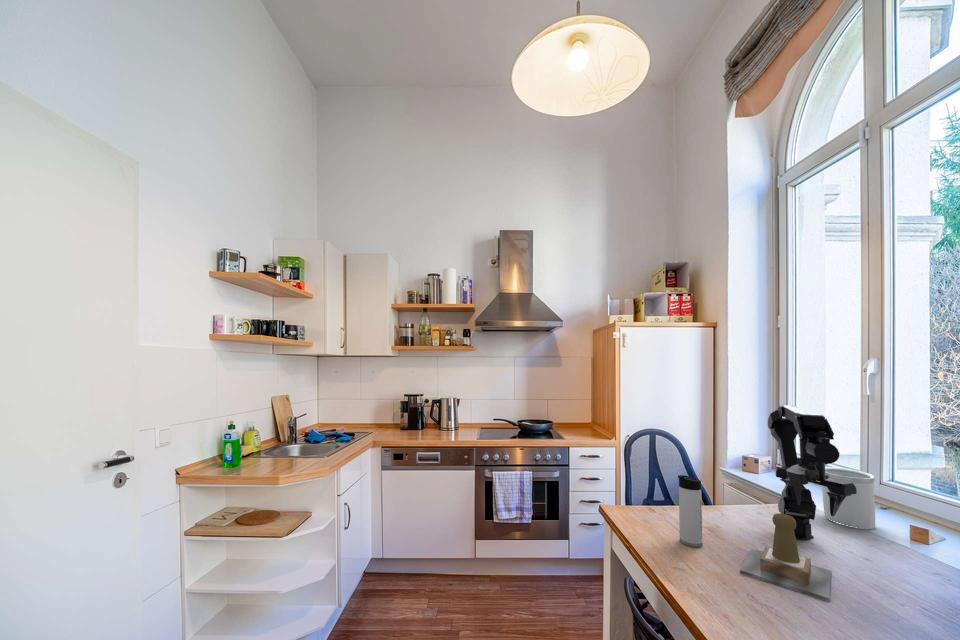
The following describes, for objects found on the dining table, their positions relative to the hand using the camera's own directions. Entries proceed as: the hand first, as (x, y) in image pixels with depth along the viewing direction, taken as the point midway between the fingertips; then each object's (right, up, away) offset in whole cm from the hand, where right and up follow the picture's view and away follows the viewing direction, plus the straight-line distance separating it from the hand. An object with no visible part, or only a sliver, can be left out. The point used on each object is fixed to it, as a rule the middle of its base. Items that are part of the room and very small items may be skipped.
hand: (814, 510), depth 120 cm
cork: (-17, -8, -12) cm, 22 cm away
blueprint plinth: (-18, -11, -12) cm, 24 cm away
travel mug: (-34, -13, +5) cm, 37 cm away
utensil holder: (+34, -17, +26) cm, 47 cm away
